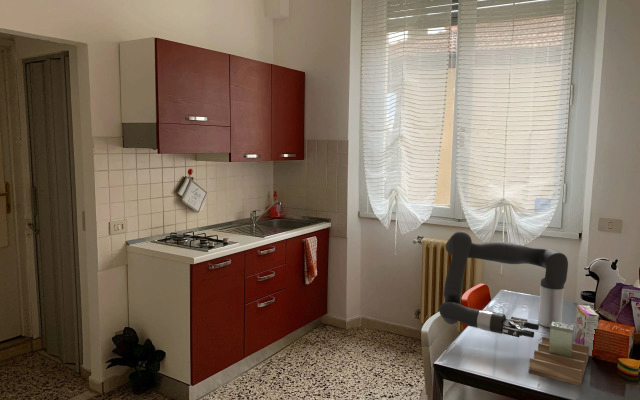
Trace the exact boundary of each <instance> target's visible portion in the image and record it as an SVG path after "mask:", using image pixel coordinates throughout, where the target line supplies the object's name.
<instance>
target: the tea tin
mask: <svg viewBox="0 0 640 400" xmlns="http://www.w3.org/2000/svg"><path fill="white" fill-rule="evenodd" d="M574 329H575V325H573V324H568V323H564V322H561V323H559V322H554V321H552V323H551V325H550V327H549V338H550V341H549V354H554V355H558V356H562V357H567V358H571V359H572V347H573V343H574V334H575V330H574Z"/></svg>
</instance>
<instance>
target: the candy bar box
mask: <svg viewBox="0 0 640 400" xmlns="http://www.w3.org/2000/svg"><path fill="white" fill-rule="evenodd" d="M575 315H576V316H575V326H574V329H575V330H574V341H573V343H576V344H581V345H586V346H589V357H593V356H592V350H593V340H594V334H595V330H594V329H597V328H598V329H599V323H600V322H599V321H600V315H599V314H598V312H596V311H595V309H593V307H591V306H590V305H585V304H584V305H583V304H576V313H575Z"/></svg>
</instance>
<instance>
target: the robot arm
mask: <svg viewBox="0 0 640 400" xmlns="http://www.w3.org/2000/svg"><path fill="white" fill-rule="evenodd" d="M472 241H473V240H472V238H471V236H470V234H469V233H467V232H466V231H456V232H454V233H453V234H452V235H451V236H450V237H449V239H448V240H447V241H446V244H445V250H446V252H447V253H448V254H449V255H450V256H451V261H450V264H449V266H448V271H447V273H446V277H445V282H444V290H443V297H444V302H443V303H440V305H439V308H438V312H439V315H440V316H441V318H442V319H443V320H444V322H446V323H447V324H449V325H455V324H457V323H458V322H460V323H462V324H464V325H465V326H467V327H470V328H476V329H480V330H482V331H487V332H492V333H496V334H500V335H507V336H510V337H511V336H512V337H516V338H520V337H523V336H524V337H527V338H528V337H529V338H534V337H535V331H539V329H540V326H542V327H546V328H550V325H551V323H552V321H554V322H559V323H562V317H563V305H564V291H565V290H564V289H565V284H566V282H567V278H568V271H569V270H568V269H569V261H568V260H569V259H568V257H567V256H566V254H564V253H563V252H560V251H558V250H556V249H552V248H540V247H539V248H537V247H529V246H526V245H523V244H517V243H512V242H506V241H497V240H496V241H486V242H472ZM468 259H478V260H483V261H488V262H489V261H491V262H495V263H500V264H508V265H522V264H527V265H533V266H538V267H541V268H544V269H545V275H544V277H543V278H541V280H540V286H539V287H540V289H539V290H540V291H539V304H538V305H539V306H538V307H539V308H538V319H537V323H534V322H529V321H528V319H526V318H521V317H514V316H510V318H509V319H507V317H506V316H507V315H506V313H502V312H501V313H499V312H495V311H491V310H481V309H476V308H473V307H471V308H470V307H468V306H465V305H462V302H461V301H462V300H461V297H462V290H463V284H464V283H463V282H464V276H465V269H466V265H467V260H468Z"/></svg>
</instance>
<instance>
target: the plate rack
mask: <svg viewBox="0 0 640 400" xmlns="http://www.w3.org/2000/svg"><path fill="white" fill-rule="evenodd" d="M549 341H550V337H547V336H542V337H541V343H540V342H538V345H537V350H533V358H532V357H529V362H528V363H529V365H528V373H529V374H532V375H536V376H539V377H544V378H548V379H552V380H555V381H560V382H563V383H567V384H571V385H576V386H579V387H580V386H581V385H582V381H583V378H584V375H585V371H586V368H587V364H588V361H589V357H590V356H589V346H586V345H581V344H576V343H574V342H573V347H572V359H571V358H567V357H562V356H558V355H554V354H549Z"/></svg>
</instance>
